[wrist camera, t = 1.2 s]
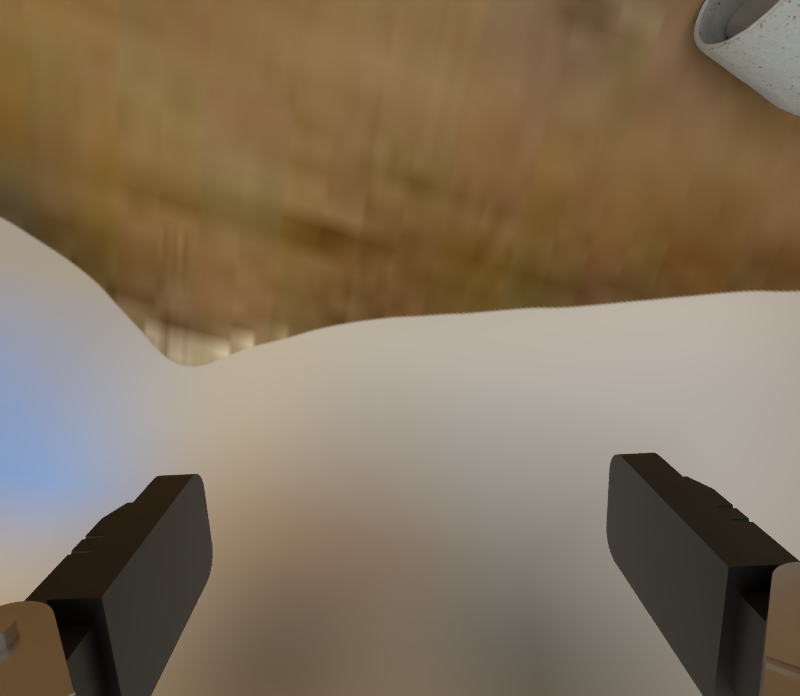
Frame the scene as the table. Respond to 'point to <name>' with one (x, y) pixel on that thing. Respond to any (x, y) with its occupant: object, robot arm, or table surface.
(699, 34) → the ceramic mug
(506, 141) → the table surface
